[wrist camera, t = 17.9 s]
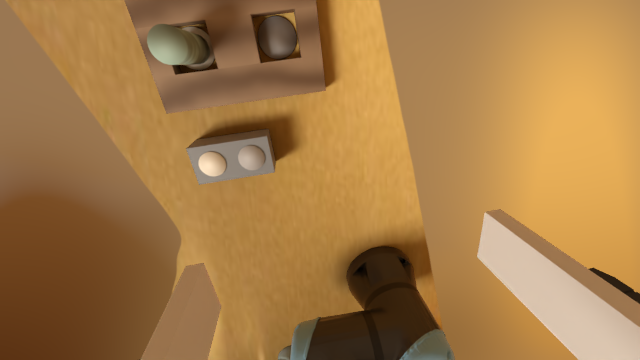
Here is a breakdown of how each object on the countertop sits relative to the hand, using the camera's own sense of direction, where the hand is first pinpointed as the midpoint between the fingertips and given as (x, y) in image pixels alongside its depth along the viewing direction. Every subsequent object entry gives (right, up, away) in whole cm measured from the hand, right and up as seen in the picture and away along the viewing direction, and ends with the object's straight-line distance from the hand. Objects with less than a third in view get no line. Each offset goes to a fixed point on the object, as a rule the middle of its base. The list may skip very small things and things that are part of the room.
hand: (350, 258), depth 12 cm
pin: (-19, +23, +25) cm, 39 cm away
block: (-16, +9, +32) cm, 37 cm away
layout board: (-14, +24, +26) cm, 38 cm away
